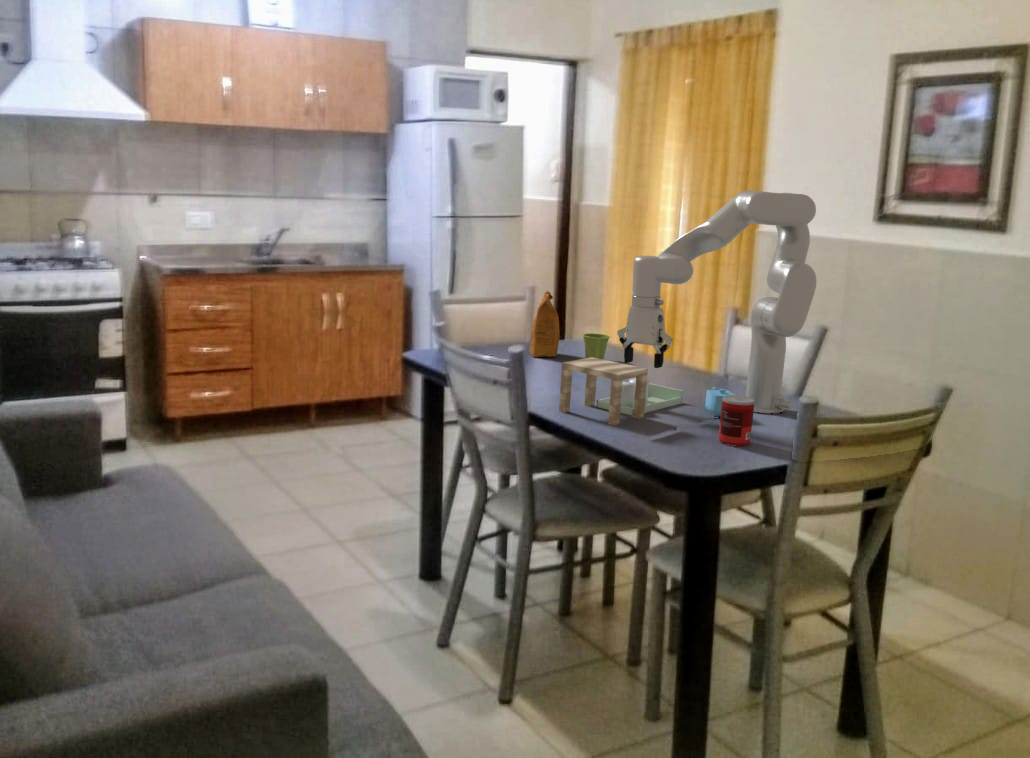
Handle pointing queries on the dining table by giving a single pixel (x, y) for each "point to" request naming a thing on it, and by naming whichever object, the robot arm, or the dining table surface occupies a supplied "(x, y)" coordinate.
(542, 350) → the coffee package
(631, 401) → the white rounded cylinder
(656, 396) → the tray
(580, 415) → the dining table surface
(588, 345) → the plant pot
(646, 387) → the white piece
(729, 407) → the canned food
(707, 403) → the teapot
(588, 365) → the miniature wooden table
